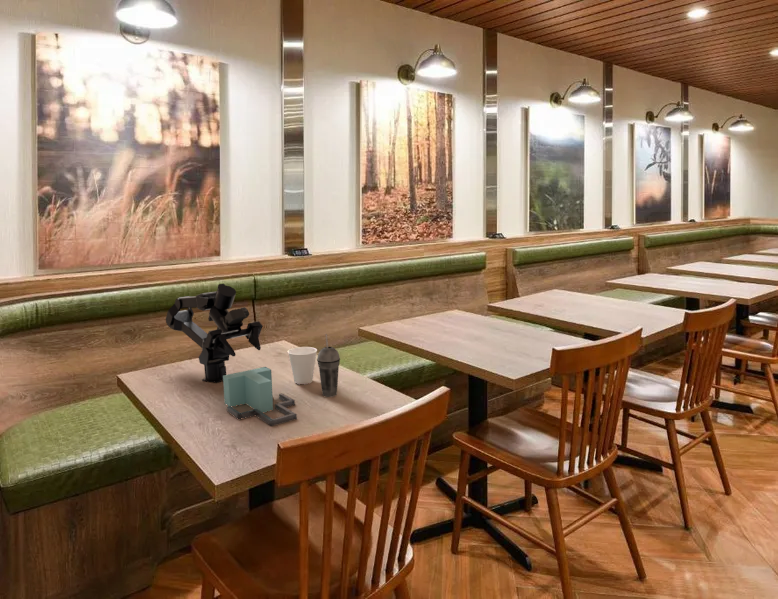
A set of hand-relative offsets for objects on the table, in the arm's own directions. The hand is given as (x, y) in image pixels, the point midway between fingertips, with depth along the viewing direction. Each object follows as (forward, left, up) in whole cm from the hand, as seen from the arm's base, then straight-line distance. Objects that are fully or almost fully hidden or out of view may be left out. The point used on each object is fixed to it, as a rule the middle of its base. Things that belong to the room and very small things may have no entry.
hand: (247, 352), depth 183 cm
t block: (+8, -8, -14) cm, 18 cm away
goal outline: (+15, -12, -14) cm, 24 cm away
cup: (+11, +16, -14) cm, 23 cm away
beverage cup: (+25, +8, -14) cm, 29 cm away
